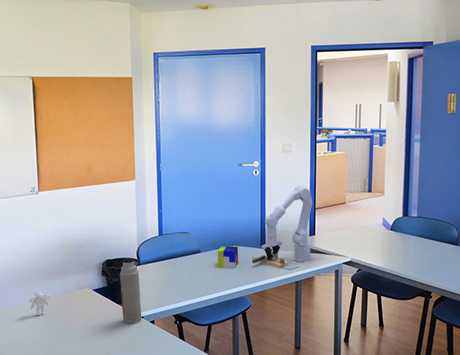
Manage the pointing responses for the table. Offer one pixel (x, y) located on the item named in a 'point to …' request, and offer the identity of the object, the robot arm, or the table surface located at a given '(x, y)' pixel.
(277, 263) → the plane body
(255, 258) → the lever
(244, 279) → the table surface
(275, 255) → the lever cap
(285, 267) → the mat
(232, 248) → the puzzle toy
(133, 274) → the thermos bottle
